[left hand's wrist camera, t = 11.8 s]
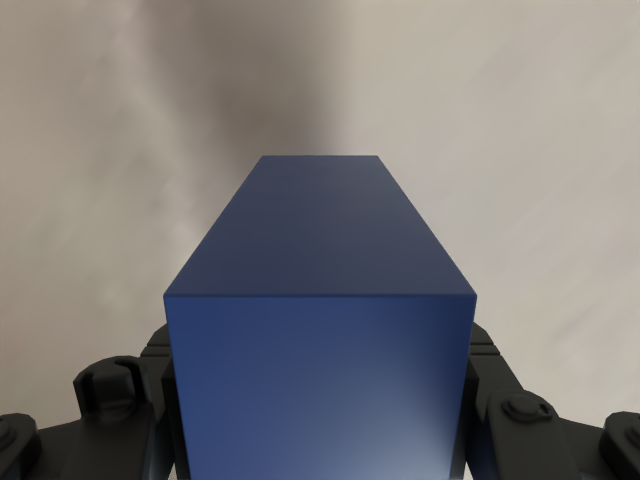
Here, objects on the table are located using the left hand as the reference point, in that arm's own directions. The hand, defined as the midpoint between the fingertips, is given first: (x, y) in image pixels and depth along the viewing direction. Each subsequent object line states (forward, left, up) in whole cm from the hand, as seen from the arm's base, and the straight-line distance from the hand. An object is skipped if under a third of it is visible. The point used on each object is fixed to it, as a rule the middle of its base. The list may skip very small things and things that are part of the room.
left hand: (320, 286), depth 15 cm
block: (0, 0, -4) cm, 4 cm away
